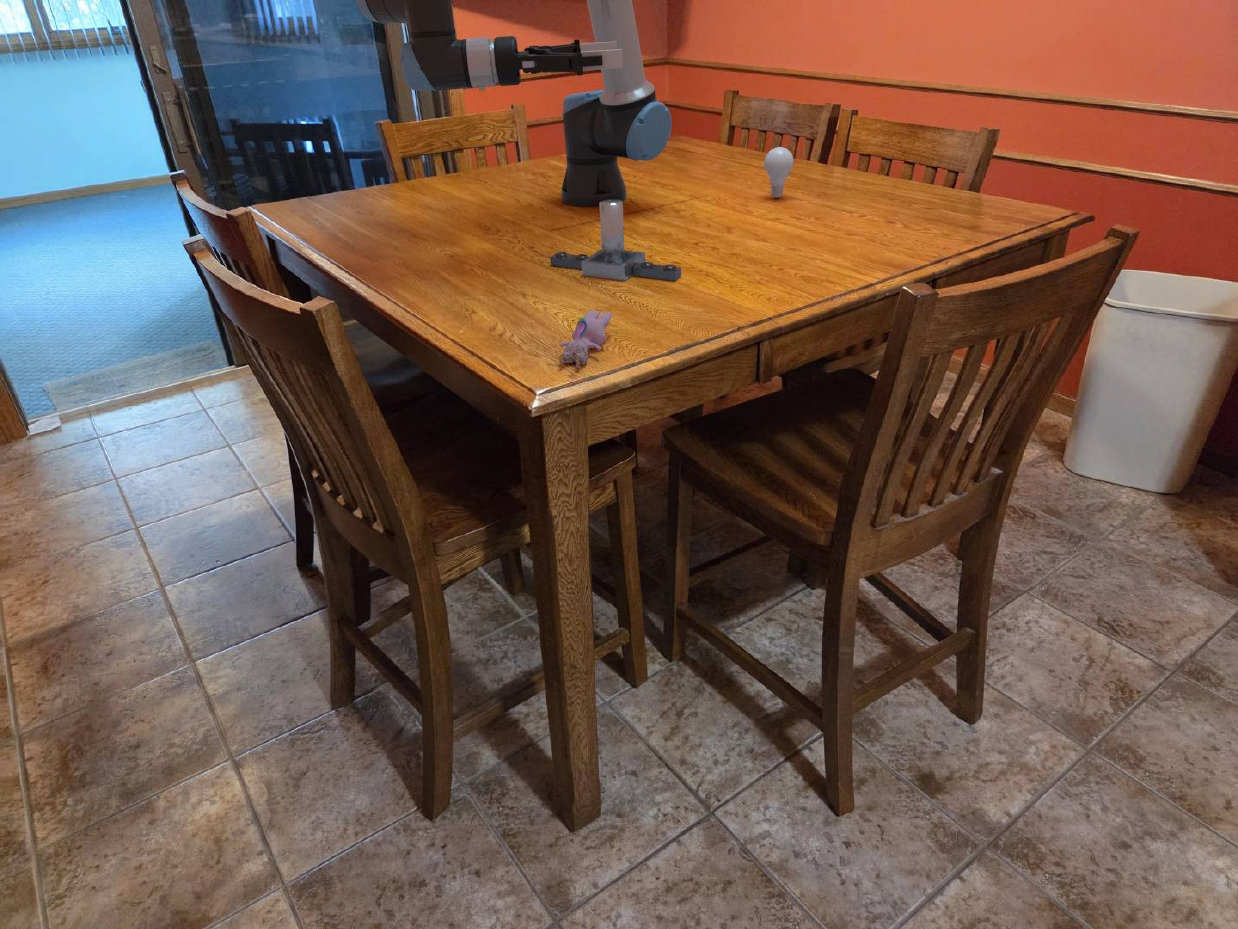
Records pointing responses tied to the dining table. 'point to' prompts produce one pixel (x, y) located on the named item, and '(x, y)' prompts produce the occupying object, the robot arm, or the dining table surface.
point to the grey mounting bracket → (616, 266)
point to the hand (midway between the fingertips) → (620, 53)
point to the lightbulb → (778, 169)
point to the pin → (612, 231)
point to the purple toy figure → (585, 338)
